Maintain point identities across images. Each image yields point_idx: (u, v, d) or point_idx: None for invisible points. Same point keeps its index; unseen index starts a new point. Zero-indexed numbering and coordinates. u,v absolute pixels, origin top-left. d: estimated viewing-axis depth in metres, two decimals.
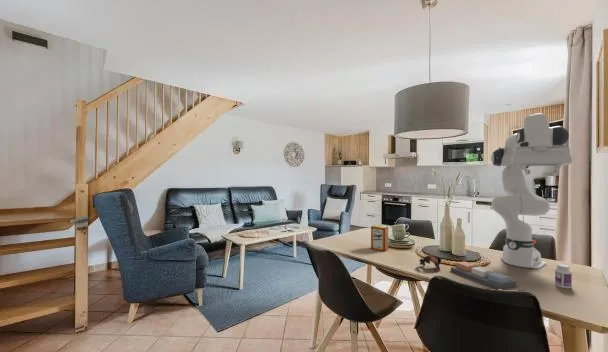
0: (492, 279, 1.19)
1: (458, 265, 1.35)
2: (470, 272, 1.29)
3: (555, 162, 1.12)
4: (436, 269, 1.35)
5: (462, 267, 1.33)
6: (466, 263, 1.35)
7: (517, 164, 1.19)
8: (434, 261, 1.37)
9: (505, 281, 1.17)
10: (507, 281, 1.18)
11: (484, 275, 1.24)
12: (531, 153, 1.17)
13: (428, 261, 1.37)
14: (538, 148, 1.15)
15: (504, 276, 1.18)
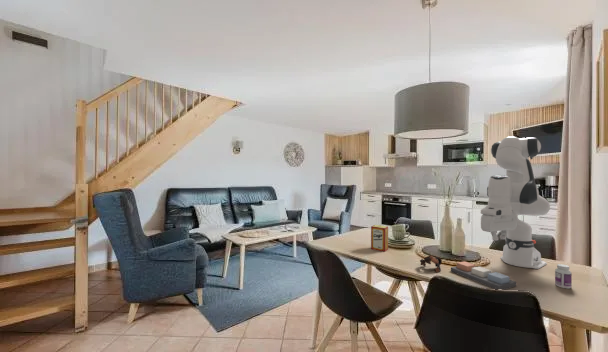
0: (492, 279, 1.19)
1: (458, 265, 1.35)
2: (470, 272, 1.29)
3: (509, 228, 1.20)
4: (437, 270, 1.34)
5: (462, 267, 1.33)
6: (466, 263, 1.35)
7: None
8: (435, 261, 1.36)
9: (505, 281, 1.17)
10: (507, 281, 1.18)
11: (484, 275, 1.24)
12: (498, 220, 1.17)
13: (429, 261, 1.36)
14: (505, 216, 1.16)
15: (504, 276, 1.18)
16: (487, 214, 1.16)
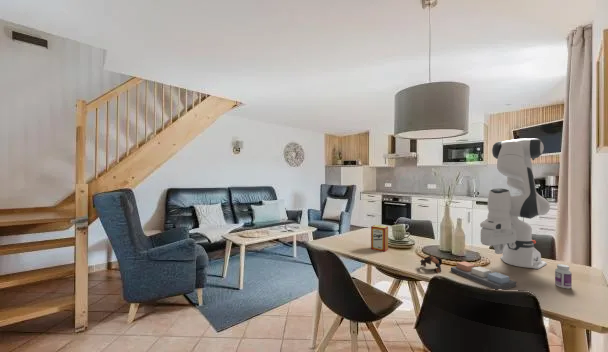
0: (492, 279, 1.19)
1: (458, 265, 1.35)
2: (470, 272, 1.29)
3: (509, 242, 1.19)
4: (437, 270, 1.34)
5: (462, 267, 1.33)
6: (466, 263, 1.35)
7: None
8: (435, 262, 1.35)
9: (505, 281, 1.17)
10: (507, 281, 1.18)
11: (484, 275, 1.24)
12: (498, 234, 1.17)
13: (429, 262, 1.36)
14: (504, 230, 1.16)
15: (504, 276, 1.18)
16: (487, 228, 1.16)
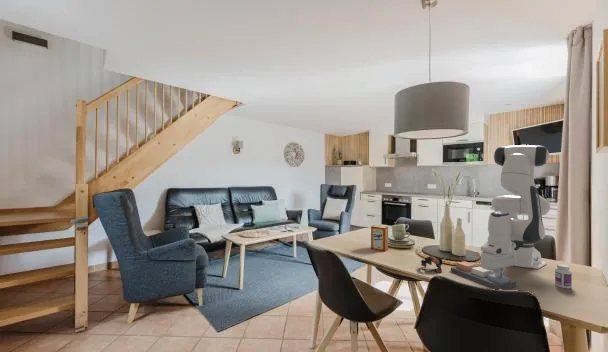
0: (492, 280, 1.19)
1: (458, 265, 1.35)
2: (470, 272, 1.29)
3: (509, 265, 1.20)
4: (438, 270, 1.34)
5: (462, 267, 1.33)
6: (466, 263, 1.35)
7: None
8: (436, 262, 1.35)
9: (505, 282, 1.17)
10: (507, 282, 1.18)
11: (484, 275, 1.24)
12: (498, 257, 1.17)
13: (430, 262, 1.35)
14: (504, 254, 1.16)
15: (504, 277, 1.18)
16: (487, 252, 1.16)
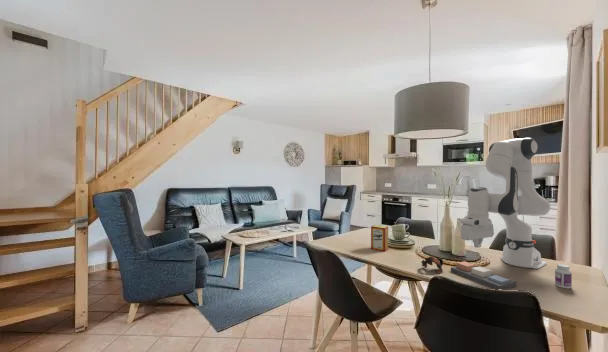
0: None
1: (458, 265, 1.35)
2: (470, 272, 1.29)
3: (487, 236, 1.29)
4: (439, 271, 1.33)
5: (462, 267, 1.33)
6: (466, 263, 1.35)
7: None
8: (437, 263, 1.34)
9: None
10: None
11: (484, 275, 1.24)
12: (476, 229, 1.26)
13: (431, 263, 1.34)
14: (482, 226, 1.26)
15: (504, 279, 1.18)
16: (466, 224, 1.25)
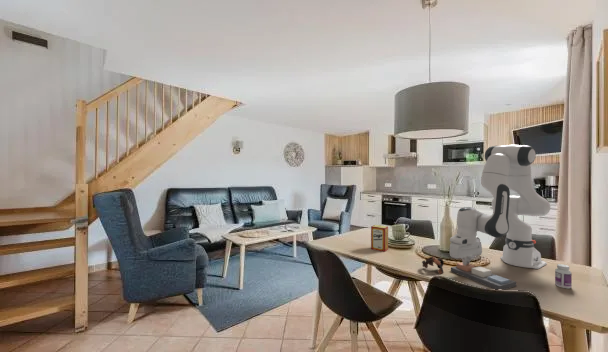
0: None
1: (458, 266, 1.35)
2: (470, 272, 1.29)
3: (475, 255, 1.34)
4: (439, 271, 1.32)
5: (462, 268, 1.33)
6: None
7: None
8: (437, 263, 1.34)
9: None
10: None
11: (484, 275, 1.24)
12: (465, 248, 1.31)
13: (431, 263, 1.34)
14: (470, 244, 1.31)
15: (504, 279, 1.18)
16: (455, 242, 1.31)
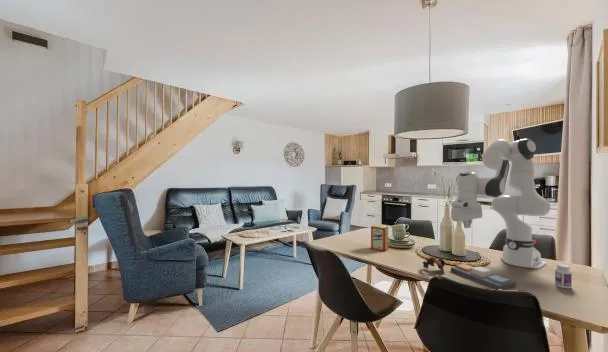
0: None
1: None
2: (470, 272, 1.29)
3: (476, 218, 1.38)
4: (440, 272, 1.31)
5: None
6: (466, 266, 1.35)
7: None
8: (438, 264, 1.33)
9: None
10: None
11: (484, 275, 1.24)
12: (465, 211, 1.35)
13: (432, 264, 1.33)
14: (471, 207, 1.35)
15: (504, 279, 1.18)
16: (456, 206, 1.34)
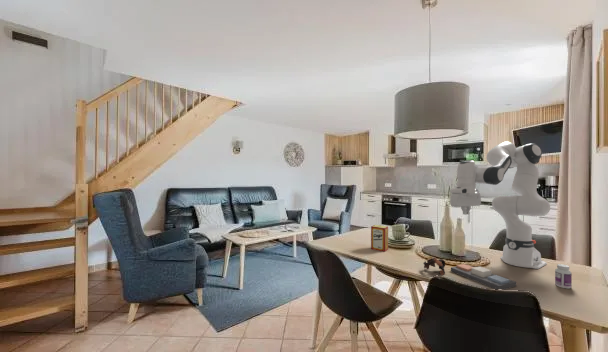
0: None
1: None
2: (470, 272, 1.29)
3: (474, 205, 1.43)
4: (441, 272, 1.31)
5: None
6: (466, 266, 1.35)
7: (456, 206, 1.39)
8: (439, 264, 1.32)
9: None
10: None
11: (484, 275, 1.24)
12: (464, 197, 1.40)
13: (433, 264, 1.32)
14: (470, 194, 1.39)
15: (504, 279, 1.18)
16: (455, 192, 1.39)
